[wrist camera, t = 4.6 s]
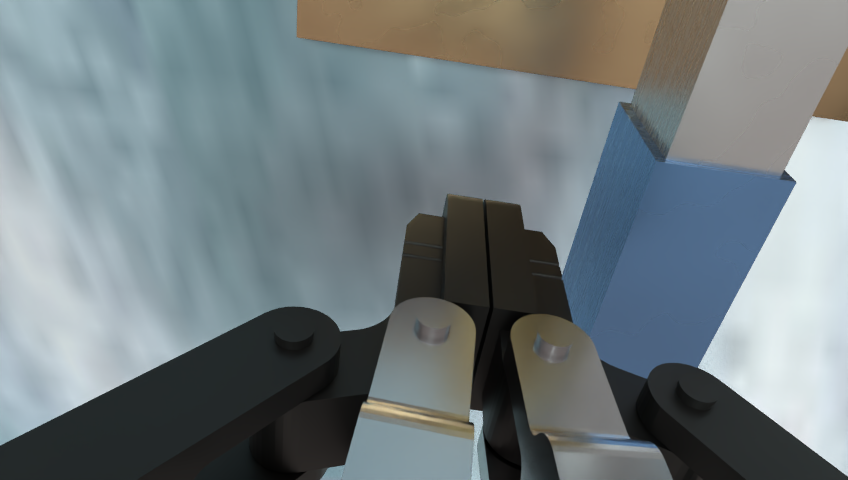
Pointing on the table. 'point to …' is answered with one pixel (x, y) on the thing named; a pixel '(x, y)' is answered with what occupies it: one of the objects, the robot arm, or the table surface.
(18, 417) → the table surface
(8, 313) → the table surface
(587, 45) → the valve
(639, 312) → the lever
